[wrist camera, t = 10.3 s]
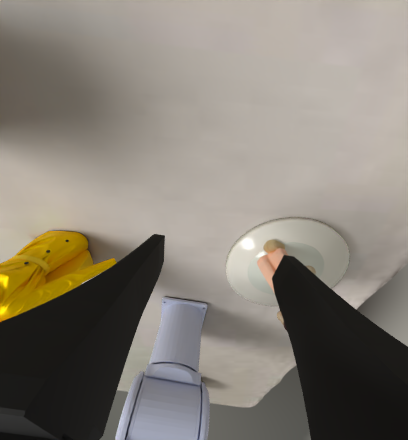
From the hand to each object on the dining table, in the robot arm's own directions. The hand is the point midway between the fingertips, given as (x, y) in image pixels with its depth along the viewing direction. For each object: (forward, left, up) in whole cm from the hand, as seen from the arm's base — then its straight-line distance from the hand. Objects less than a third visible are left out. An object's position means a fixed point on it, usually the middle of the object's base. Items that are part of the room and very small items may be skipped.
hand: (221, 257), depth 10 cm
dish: (-9, -11, -10) cm, 18 cm away
